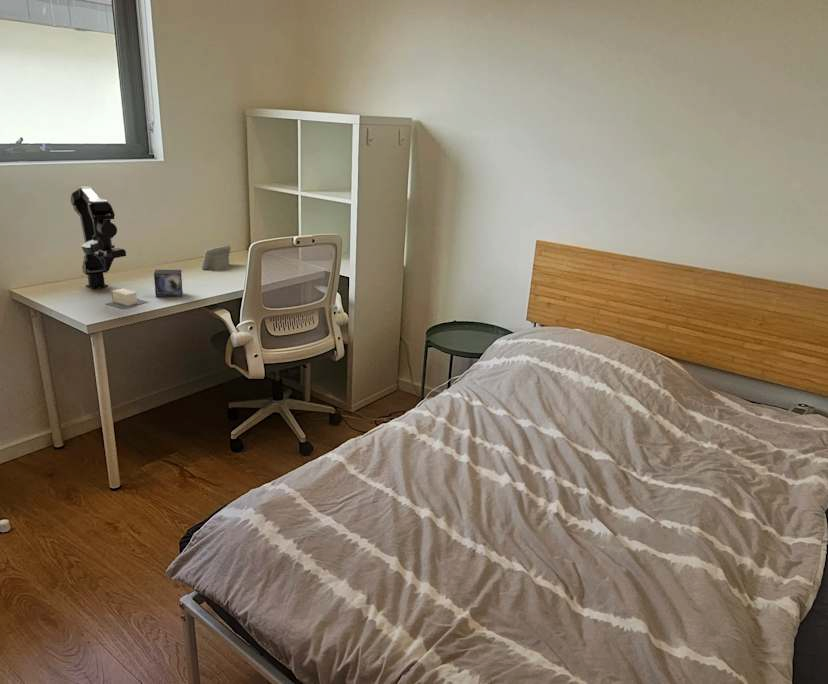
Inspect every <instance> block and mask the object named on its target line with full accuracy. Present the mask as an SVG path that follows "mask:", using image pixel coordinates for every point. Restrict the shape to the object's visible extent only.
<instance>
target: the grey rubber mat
mask: <svg viewBox="0 0 828 684" xmlns="http://www.w3.org/2000/svg"><path fill="white" fill-rule="evenodd" d="M147 303H148V301H147V300H143V299H140V298H137V303H136V304H132V305H128V306H127V305H124V304H120V303H117V302H114V301H111V302H108V303H105V305H107V306H111V307H114V308H117V309H121V310H124V309H128V308H132V307H136V306H140V305H143V304H147Z"/></svg>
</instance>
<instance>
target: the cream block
mask: <svg viewBox="0 0 828 684" xmlns="http://www.w3.org/2000/svg"><path fill="white" fill-rule="evenodd" d="M111 298H112V299H111V300H112V302H117V303H120V304H124V305H127V306H128V305H132V304H136V303H137V299H138V297H137V292H136V291H133V290H129V289H126V288H123V287H121V288H116V289H112V290H111Z"/></svg>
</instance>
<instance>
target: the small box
mask: <svg viewBox="0 0 828 684" xmlns="http://www.w3.org/2000/svg"><path fill="white" fill-rule="evenodd" d="M153 278H154V291H155V293H154V294H155V298H170V297H171V298H182V297H183V293H184V291H183V279H182V269H155V270H154V273H153Z"/></svg>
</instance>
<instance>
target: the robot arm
mask: <svg viewBox="0 0 828 684" xmlns="http://www.w3.org/2000/svg"><path fill="white" fill-rule="evenodd" d="M70 204H71V205H72V207H73V211H74V212H76V214H77V215H78V216H79V218H80V225H81V228H82V234H83V240H84V243H83V244H81V245H80V248H81V250H82V251H83V253H84V256H83V261H82V273H83V274H84V275H87V281H88V284H86V285H85V287H87V288H90V289H94V290H97V289H100V288H106V287H108V286H109V285H108V284H106V282H105V276H104V274H105V273H108V272H110V269H111V267H112V264H113V262H114V260H115V259H117V258H122V257H127V250H125V249H124V248H121V247H120V248H119V247H116V248H115V244H114V245H113V244H112V243H113V242H112V238H114V237H115V236H116V235H117V233H118V227H117V226H116V224H114V223H113V222H112V220H115V215H116V214H115V212H114V211H115V210H114V209H113V206H112V205H111V203H110V202H109V201H108V200H106V199H105V198H102V197H101V198H100V197H99V195H97V193H95V191H94V188H93V187H91V186H80V187H77V190H75V191H73V192H72V193H71V196H70Z"/></svg>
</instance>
